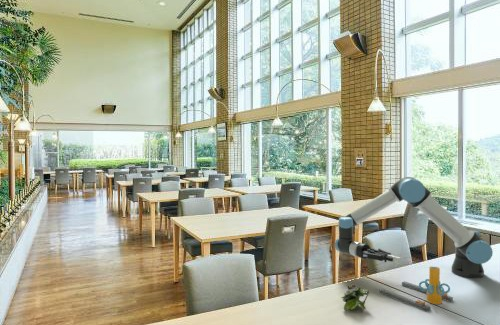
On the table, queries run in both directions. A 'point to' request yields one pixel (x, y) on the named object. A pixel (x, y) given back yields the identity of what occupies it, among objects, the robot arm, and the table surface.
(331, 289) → the table surface
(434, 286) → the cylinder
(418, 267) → the table surface
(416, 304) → the guide track
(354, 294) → the passion flower
